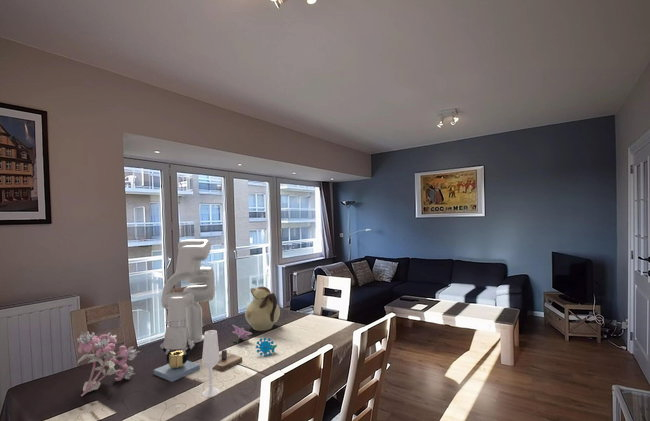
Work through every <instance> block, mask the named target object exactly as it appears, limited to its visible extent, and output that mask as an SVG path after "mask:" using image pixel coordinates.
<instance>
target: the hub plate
mask: <svg viewBox="0 0 650 421" xmlns="http://www.w3.org/2000/svg"><path fill="white" fill-rule="evenodd" d="M200 369H201V364H199V363H196V362H193V361H190V360H189V359H188V360H187V361H186V363H185V364H184V365H183V366H181V367H177V368H170V367H169V363H167V364H164V365H162V366H159V367H157V368H154V369H153V375H155V376H156V377H157V376H158V377H160V378H162V379H164V380H167V381H168V382H171V383H172V382H175V381H177V380H179V379H182V378H183V377H185V376H188V375H191V374H192V373H195V372H196V371H199V370H200Z"/></svg>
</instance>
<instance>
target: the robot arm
mask: <svg viewBox="0 0 650 421" xmlns="http://www.w3.org/2000/svg"><path fill="white" fill-rule="evenodd" d="M211 247H212V244H211V241H210V240H208V239H185V240H181V241H179V242H178V243H177V249H178V254H177V261H176V267H175V273H173V274H172V275H171V276H170V277H168V279H167V281H166V282H165V283H164V285H163V288H162V293H161V300H160V301H161V302H160V303H161V304H160V305H161V307H162V308H163V309H167V311H168V314H167V316H168V318H167V319H168V320H165V324H167V326H166V328H165V331H164V340H163V342H162V343H160V345H159V347H160V349H161V350H162V351H163V352H164V353H165V355H166V363H167V364H169V354H170V353H172V352H173V350H176V351H183V353H184V354H183V363H185V362H186V361H187V360H188V361H189V355H188V354H189V352H190V351H191V350H192V349H193V348H194V347H195V344H198V343H200V342H204V334H203V308H202V306H201V305H200V302H201V303H203V302H211V301H213V300H214V299H215V295H216V293H215V292H216V289H215V271H214V269H213V267H211V266H201V264H202V263H201V262H203V261H206V260H207V259H208V256H209V254H210V252H211ZM184 280H185V282H186V283H187V284H191V285H188V286H186V287H185V288H184V289H183V291H180V292H179V291H177V292H176V291H175V292H171V291H172V290H171V289H172V288H173V287H174V286H175V285H176V284H178V283H181V282H182V281H184ZM200 284H202V285H200ZM188 346H189V347H188Z"/></svg>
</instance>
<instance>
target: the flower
mask: <svg viewBox="0 0 650 421" xmlns="http://www.w3.org/2000/svg"><path fill="white" fill-rule="evenodd" d="M77 342H78V343H79V345H78V348H77V351H78V353H80V354H82V353H83V352H85V353H86V354H83V355H82V356H81V357H80V358H79V359H78V360H77V364H79V363H80V362H82V361H84V360H85V359H87V358H88V359H90V360H88V362H87V364H90V363H93V366H92V369H91V372H90V376H89V379H88V381H85V382H84V384H83V387H82V394H80V396H81V397H83V396H84V395H86V394H87V393H89V392H92V391H96V390H99V388H100V386H101V384H102V383H101V382H100V381H102V380H103V379H104V378H105V377H107V376H111V375H114V374H115V375H116V376H117V377H114V380H115V381H121V380H122V379H123V378H124V379H125V380H130V378H131V376H133V375H135V374H136V373H134V371H135V368H133V366H130V365H128V364H127V361H133V360H135V358H136V357H138V355H137V353H140V352H141V350H139V351H138V350H137V349H136V348H134V347H135V345H134V346H133V345H132V346H129V347H128V348H127V346H125V345H120V346H119V347H118V349H119V350H118V351H117V352H115V351H114V350H115V349H116V344H117V342H118V339H117V334H114V335H112V334H111V332H108V333H106V334H101V335H99V336H97V335H95V332H93V331H92V332H91V334H90V332H89V330H87V331H86V332H84V333H83V331H81V334H79V337H78V338H77ZM95 349H96V351H95ZM90 352H92V353H91V354H90ZM88 353H89V354H88ZM101 357H103V359H104V360H103V359H102V358H101ZM117 358H122V359H121V360H119V359H117ZM97 362H98V363H99V364H100V366H97V367H96V365H97ZM116 365H118V366H120V368H119V369H115V366H116ZM105 367H107V368H108V369H106V368H105ZM121 368H122V369H121ZM96 371H99V372H98V373H97V374H96V376H94V373H95V372H96ZM101 373H102V374H103V376H101V377H100V378H99V376H100V375H101ZM93 376H94V378H93ZM98 378H99V379H98ZM97 379H98V380H97Z"/></svg>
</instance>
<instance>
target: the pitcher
mask: <svg viewBox="0 0 650 421" xmlns="http://www.w3.org/2000/svg"><path fill="white" fill-rule="evenodd" d="M250 293H251V295H252V296H253V299H252V300H251V302H250V303H249V304H248V305H247V307H246V309H245V311H244V318H245V320H246V321H247V323H248V324H249V325H250V326H251V327H252V329H253V331H257V332H259V331H260V332H262V331H264V332H265V331H269V330H271V329H272V328H273V326H274V325H275V324H276V323H277V321H278V320H279V318H280V317H281V316H280V315H281V308H280V306H279V305H278V299H277V295H276V294H275V293H274V292H272V291H271V290H270V289H269V288H268V287H266V286H258V287H255V288H252V287H251V288H250Z"/></svg>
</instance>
